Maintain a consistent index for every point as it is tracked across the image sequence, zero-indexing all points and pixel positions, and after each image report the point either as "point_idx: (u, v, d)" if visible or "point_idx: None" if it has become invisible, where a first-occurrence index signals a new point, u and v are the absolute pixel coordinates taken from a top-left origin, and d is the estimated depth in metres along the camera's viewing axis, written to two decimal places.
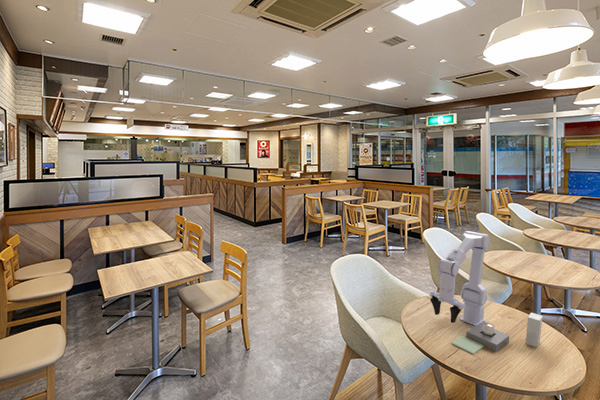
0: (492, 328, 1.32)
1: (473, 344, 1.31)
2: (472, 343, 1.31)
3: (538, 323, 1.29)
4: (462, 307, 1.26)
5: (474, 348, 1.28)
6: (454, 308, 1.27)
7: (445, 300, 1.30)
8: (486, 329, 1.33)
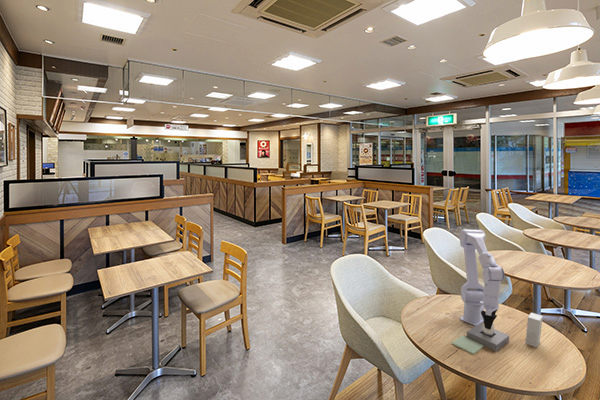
0: (492, 328, 1.32)
1: (473, 344, 1.31)
2: (472, 343, 1.31)
3: (538, 323, 1.29)
4: (488, 313, 1.27)
5: (474, 348, 1.28)
6: (483, 312, 1.30)
7: (483, 303, 1.33)
8: (486, 329, 1.33)
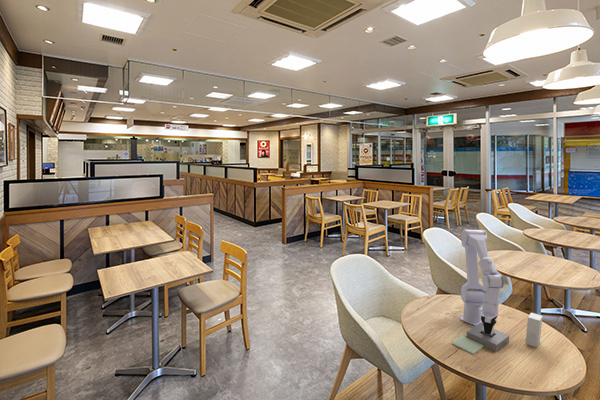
0: (492, 328, 1.32)
1: (473, 344, 1.31)
2: (472, 343, 1.31)
3: (538, 323, 1.29)
4: (488, 321, 1.28)
5: (474, 348, 1.28)
6: (483, 317, 1.32)
7: (482, 310, 1.34)
8: None
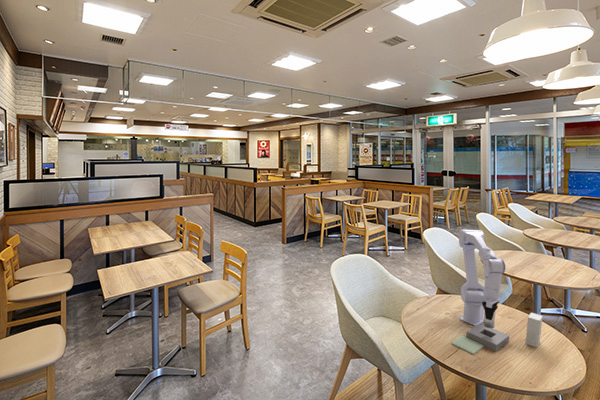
0: None
1: (473, 344, 1.31)
2: (472, 343, 1.31)
3: (538, 323, 1.29)
4: (489, 306, 1.27)
5: (474, 348, 1.28)
6: (484, 303, 1.31)
7: (483, 296, 1.33)
8: None
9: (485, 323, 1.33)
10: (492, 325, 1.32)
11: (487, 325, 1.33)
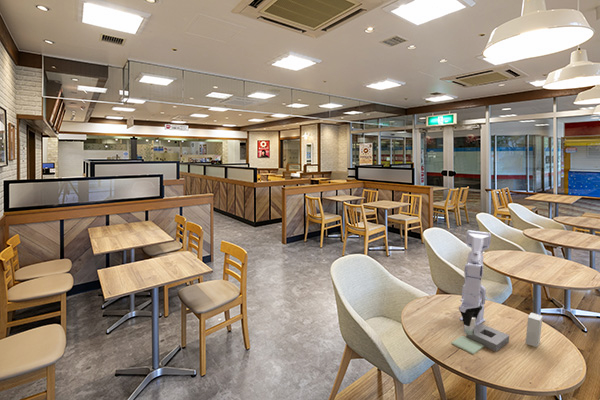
0: (472, 320, 1.28)
1: (473, 344, 1.31)
2: (472, 343, 1.31)
3: (538, 323, 1.29)
4: (462, 310, 1.25)
5: (474, 348, 1.28)
6: None
7: (462, 301, 1.30)
8: None
9: (464, 329, 1.30)
10: (471, 332, 1.28)
11: (466, 331, 1.29)
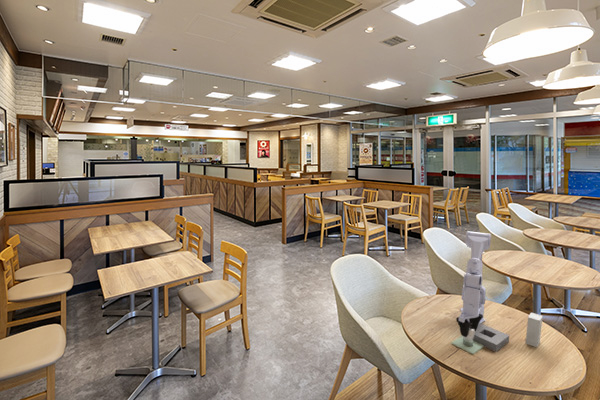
0: (471, 332, 1.28)
1: None
2: None
3: (538, 323, 1.29)
4: (461, 320, 1.25)
5: (474, 348, 1.28)
6: (459, 318, 1.28)
7: (462, 310, 1.31)
8: None
9: (463, 340, 1.31)
10: (470, 343, 1.29)
11: (465, 343, 1.30)
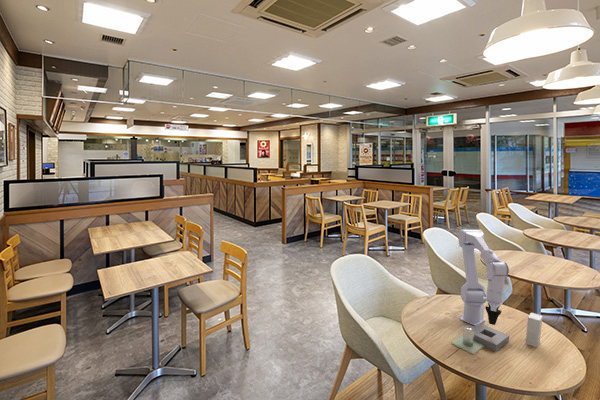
0: (471, 332, 1.28)
1: None
2: None
3: (538, 323, 1.29)
4: (493, 309, 1.26)
5: (474, 348, 1.28)
6: (488, 308, 1.29)
7: (487, 299, 1.32)
8: (465, 332, 1.30)
9: (463, 340, 1.31)
10: (470, 343, 1.29)
11: (465, 343, 1.30)
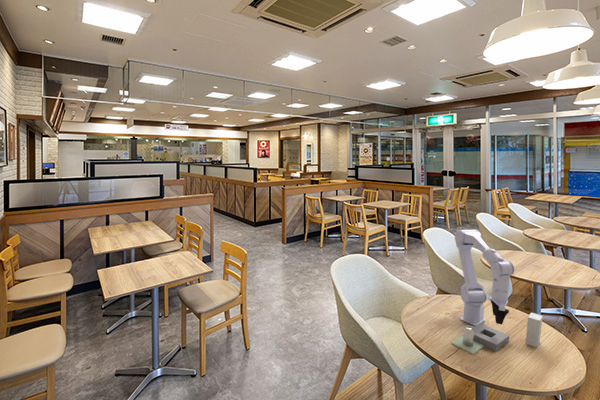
0: (471, 332, 1.28)
1: None
2: None
3: (538, 323, 1.29)
4: (502, 309, 1.26)
5: (474, 348, 1.28)
6: (495, 307, 1.29)
7: (492, 299, 1.33)
8: (465, 332, 1.30)
9: (463, 340, 1.31)
10: (470, 343, 1.29)
11: (465, 343, 1.30)
